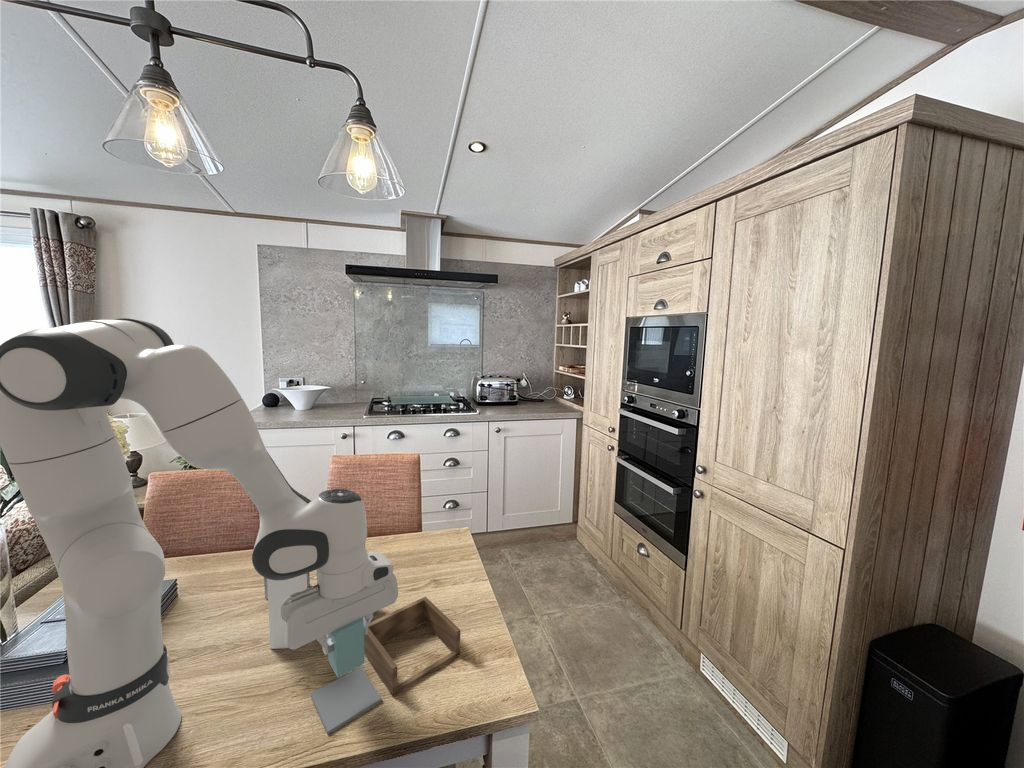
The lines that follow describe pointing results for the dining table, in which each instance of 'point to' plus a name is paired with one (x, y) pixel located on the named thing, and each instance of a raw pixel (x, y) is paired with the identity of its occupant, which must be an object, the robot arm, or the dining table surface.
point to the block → (347, 648)
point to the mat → (345, 699)
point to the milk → (276, 597)
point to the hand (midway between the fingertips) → (345, 642)
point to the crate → (397, 626)
